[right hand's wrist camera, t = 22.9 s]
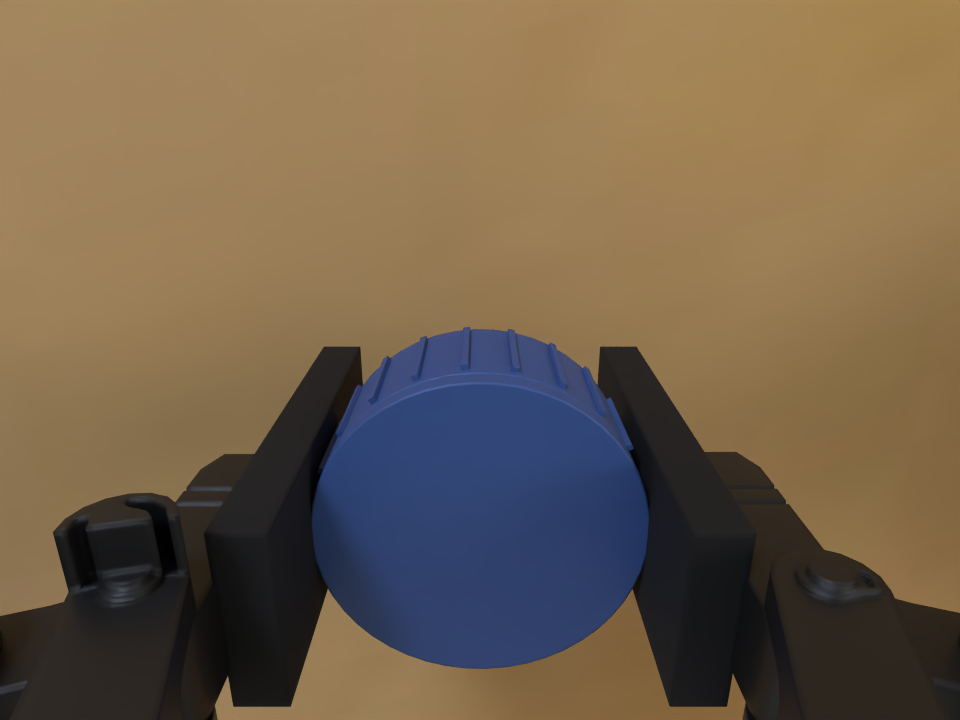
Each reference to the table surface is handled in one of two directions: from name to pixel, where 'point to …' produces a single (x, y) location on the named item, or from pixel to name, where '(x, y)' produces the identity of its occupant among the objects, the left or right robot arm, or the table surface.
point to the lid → (480, 502)
